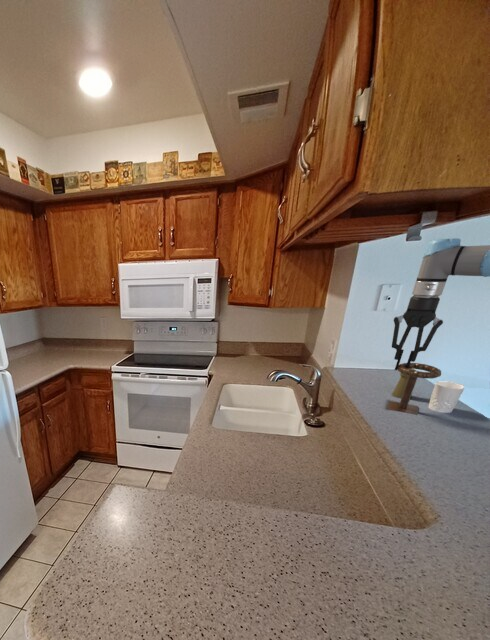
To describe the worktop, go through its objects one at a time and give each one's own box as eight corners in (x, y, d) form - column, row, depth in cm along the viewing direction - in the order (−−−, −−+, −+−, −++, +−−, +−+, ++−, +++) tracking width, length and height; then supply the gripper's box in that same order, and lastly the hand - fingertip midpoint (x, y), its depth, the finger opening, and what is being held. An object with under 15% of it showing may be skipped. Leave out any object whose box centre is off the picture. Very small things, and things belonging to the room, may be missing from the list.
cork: (389, 395, 130) (398, 369, 125) (394, 391, 134) (403, 365, 129) (407, 399, 127) (417, 372, 121) (411, 395, 130) (421, 368, 125)
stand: (416, 409, 119) (430, 373, 112) (415, 418, 112) (430, 381, 106) (387, 404, 123) (399, 369, 117) (385, 412, 117) (397, 376, 110)
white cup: (444, 417, 112) (456, 390, 108) (420, 409, 119) (430, 383, 114) (457, 413, 115) (469, 386, 110) (433, 405, 122) (444, 379, 117)
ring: (439, 371, 112) (441, 366, 111) (440, 381, 103) (442, 375, 102) (398, 365, 118) (400, 360, 117) (395, 374, 109) (397, 368, 108)
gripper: (395, 296, 103) (374, 369, 114) (457, 298, 95) (428, 376, 106) (397, 294, 108) (376, 363, 119) (456, 296, 100) (428, 370, 112)
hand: (401, 369), depth 113 cm, fingers closed on ring, 2 cm apart
